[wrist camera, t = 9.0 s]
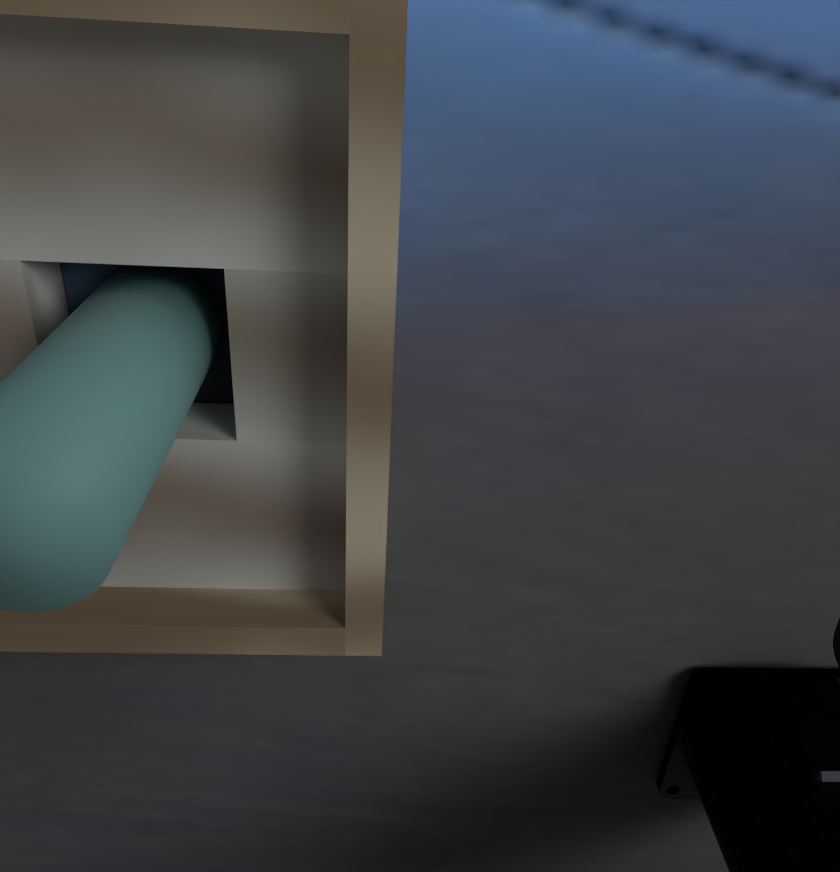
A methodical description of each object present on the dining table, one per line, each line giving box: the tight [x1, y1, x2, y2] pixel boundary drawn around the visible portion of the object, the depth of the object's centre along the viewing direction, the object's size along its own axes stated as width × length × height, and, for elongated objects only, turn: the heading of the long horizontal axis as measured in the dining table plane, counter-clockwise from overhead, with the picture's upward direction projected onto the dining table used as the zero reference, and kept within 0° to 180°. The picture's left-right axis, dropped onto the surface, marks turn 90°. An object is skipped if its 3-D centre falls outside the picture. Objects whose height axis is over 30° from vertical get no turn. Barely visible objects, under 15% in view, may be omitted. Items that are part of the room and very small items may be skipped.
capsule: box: [0, 265, 223, 612], centre depth 16 cm, size 3×3×9 cm
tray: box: [0, 0, 408, 656], centre depth 18 cm, size 16×16×4 cm
